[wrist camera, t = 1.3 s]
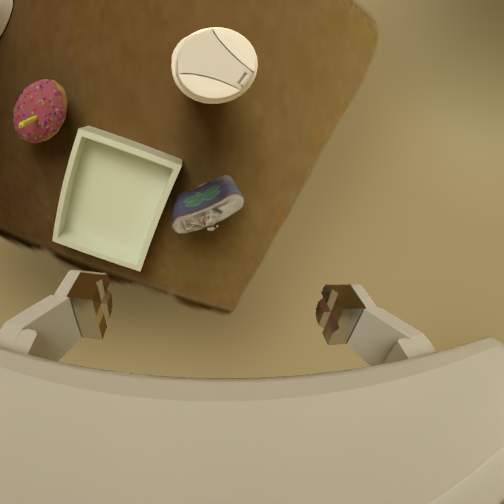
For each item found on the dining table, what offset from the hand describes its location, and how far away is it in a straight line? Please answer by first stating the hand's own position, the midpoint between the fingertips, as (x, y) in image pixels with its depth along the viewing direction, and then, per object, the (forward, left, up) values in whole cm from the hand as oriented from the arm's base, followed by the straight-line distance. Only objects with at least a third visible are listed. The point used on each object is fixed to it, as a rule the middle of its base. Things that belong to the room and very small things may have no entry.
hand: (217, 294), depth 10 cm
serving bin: (-8, -10, -31) cm, 33 cm away
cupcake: (-22, -1, -31) cm, 38 cm away
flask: (+4, -5, -31) cm, 32 cm away
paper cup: (-3, +10, -31) cm, 33 cm away
